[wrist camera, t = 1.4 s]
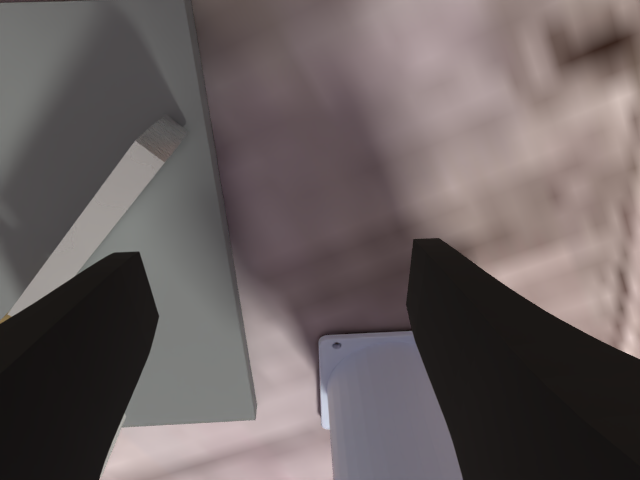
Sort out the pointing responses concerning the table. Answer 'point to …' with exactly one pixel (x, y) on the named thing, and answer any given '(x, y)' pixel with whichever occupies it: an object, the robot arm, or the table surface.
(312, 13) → the table surface
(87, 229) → the hinge leaf
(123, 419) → the hinge base
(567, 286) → the table surface
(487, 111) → the table surface
